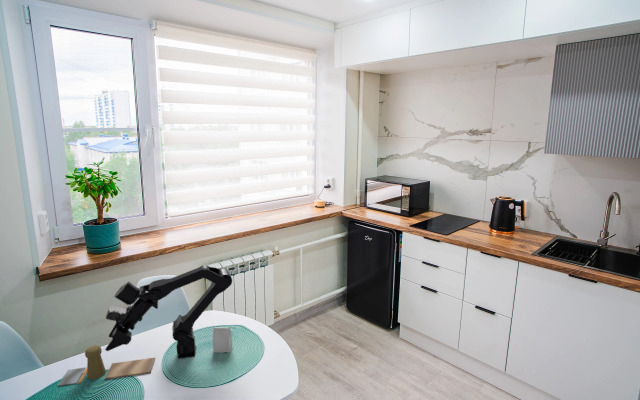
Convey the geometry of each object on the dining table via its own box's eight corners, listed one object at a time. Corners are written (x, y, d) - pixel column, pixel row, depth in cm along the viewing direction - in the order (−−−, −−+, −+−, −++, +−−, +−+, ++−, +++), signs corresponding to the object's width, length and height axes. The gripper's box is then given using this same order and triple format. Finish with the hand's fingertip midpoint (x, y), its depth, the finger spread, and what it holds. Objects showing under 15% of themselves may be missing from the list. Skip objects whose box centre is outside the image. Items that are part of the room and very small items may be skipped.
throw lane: (155, 358, 144) (155, 357, 144) (150, 372, 136) (150, 371, 136) (68, 370, 137) (68, 369, 137) (57, 386, 129) (57, 384, 129)
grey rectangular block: (229, 352, 148) (228, 330, 146) (213, 352, 148) (211, 330, 146) (232, 347, 151) (231, 325, 149) (216, 346, 152) (214, 325, 150)
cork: (97, 380, 132) (93, 353, 129) (83, 378, 133) (78, 351, 131) (109, 369, 138) (106, 343, 135) (96, 367, 139) (92, 342, 136)
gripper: (121, 288, 142) (92, 320, 140) (116, 311, 125) (83, 347, 123) (145, 303, 146) (117, 334, 144) (143, 327, 130) (112, 362, 128)
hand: (107, 343), depth 135 cm, fingers open, 9 cm apart
